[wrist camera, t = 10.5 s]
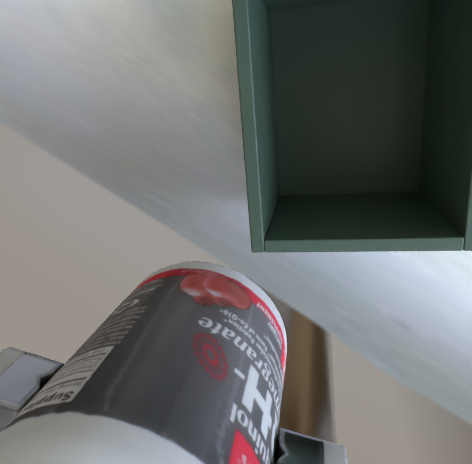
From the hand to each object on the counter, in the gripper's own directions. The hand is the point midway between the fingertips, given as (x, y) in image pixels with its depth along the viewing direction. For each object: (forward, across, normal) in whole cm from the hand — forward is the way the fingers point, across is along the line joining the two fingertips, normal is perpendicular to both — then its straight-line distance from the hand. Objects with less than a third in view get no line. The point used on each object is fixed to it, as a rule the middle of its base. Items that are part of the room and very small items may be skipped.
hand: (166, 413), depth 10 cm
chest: (+27, -4, -7) cm, 28 cm away
